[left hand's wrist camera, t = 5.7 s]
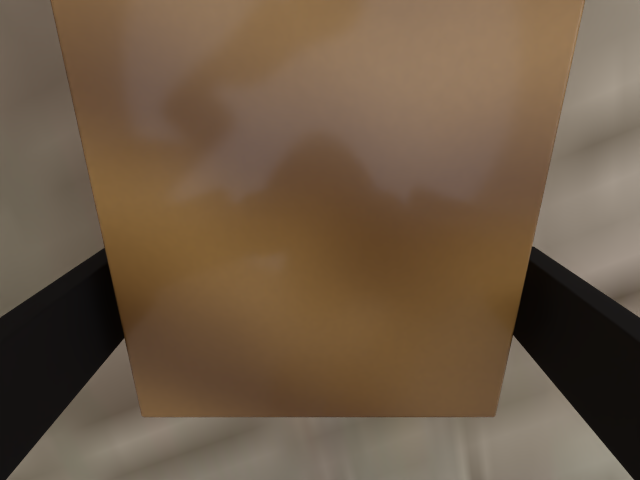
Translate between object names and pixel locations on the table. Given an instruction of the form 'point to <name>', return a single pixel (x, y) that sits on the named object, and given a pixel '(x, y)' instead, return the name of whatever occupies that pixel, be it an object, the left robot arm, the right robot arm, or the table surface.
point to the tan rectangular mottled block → (318, 194)
